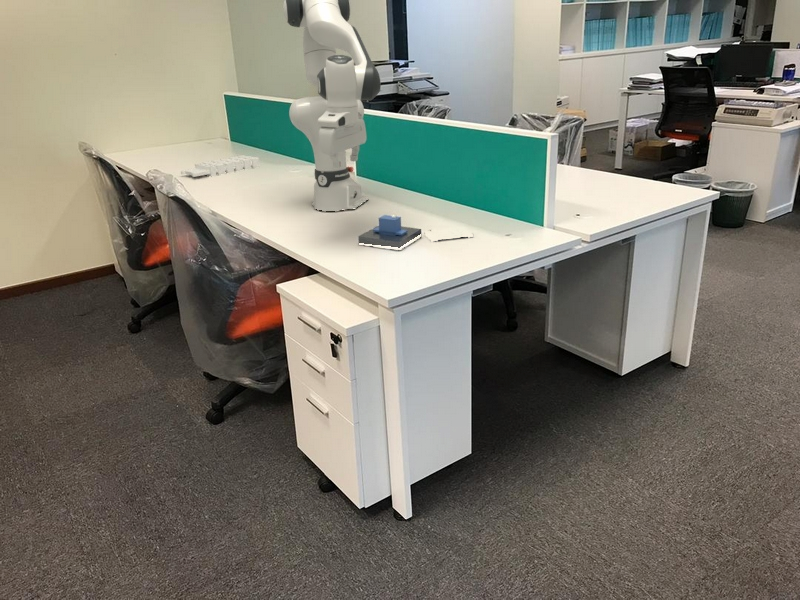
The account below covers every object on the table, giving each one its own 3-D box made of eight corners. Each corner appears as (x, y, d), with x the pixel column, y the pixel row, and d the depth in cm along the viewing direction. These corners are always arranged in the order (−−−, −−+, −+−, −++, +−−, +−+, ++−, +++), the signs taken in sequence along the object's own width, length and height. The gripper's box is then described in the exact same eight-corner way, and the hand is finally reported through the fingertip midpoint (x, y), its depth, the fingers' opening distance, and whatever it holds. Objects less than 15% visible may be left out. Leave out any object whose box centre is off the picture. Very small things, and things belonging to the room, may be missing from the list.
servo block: (379, 237, 194) (378, 211, 190) (407, 241, 189) (407, 215, 186) (373, 241, 191) (372, 214, 188) (402, 245, 186) (401, 218, 183)
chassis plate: (382, 232, 199) (381, 223, 198) (421, 237, 192) (421, 228, 191) (358, 245, 187) (358, 236, 186) (399, 251, 181) (399, 242, 180)
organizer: (258, 157, 301) (193, 170, 278) (259, 167, 303) (195, 181, 279) (242, 155, 309) (178, 167, 286) (244, 164, 311) (180, 177, 288)
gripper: (352, 110, 189) (354, 156, 195) (313, 121, 173) (317, 170, 179) (370, 111, 186) (372, 158, 192) (333, 122, 170) (336, 172, 176)
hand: (345, 164), depth 185 cm, fingers open, 8 cm apart
